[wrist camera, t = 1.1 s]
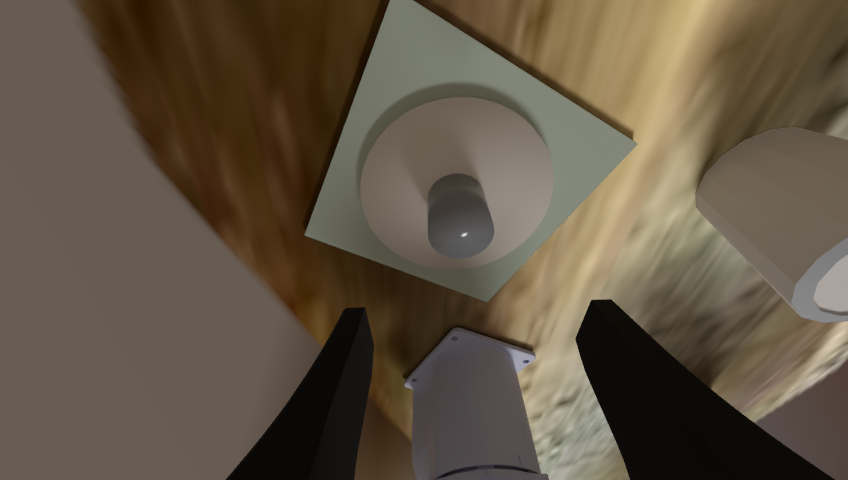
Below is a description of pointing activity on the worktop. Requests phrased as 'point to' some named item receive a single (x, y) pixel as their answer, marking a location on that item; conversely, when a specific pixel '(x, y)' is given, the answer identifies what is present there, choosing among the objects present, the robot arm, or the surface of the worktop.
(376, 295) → the worktop surface
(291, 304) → the worktop surface
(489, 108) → the lid
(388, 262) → the mat
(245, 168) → the worktop surface
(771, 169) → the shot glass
